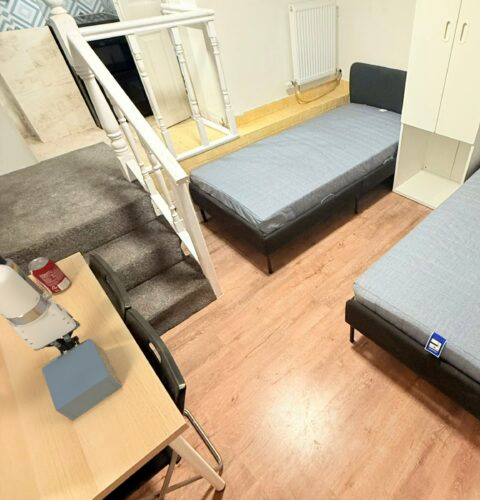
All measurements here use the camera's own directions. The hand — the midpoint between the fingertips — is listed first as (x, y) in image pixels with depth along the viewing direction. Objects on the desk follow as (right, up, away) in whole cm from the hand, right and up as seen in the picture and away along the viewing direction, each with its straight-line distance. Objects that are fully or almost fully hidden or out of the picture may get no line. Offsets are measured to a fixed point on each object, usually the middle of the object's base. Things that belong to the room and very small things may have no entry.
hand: (71, 348), depth 91 cm
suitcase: (+8, -9, -3) cm, 13 cm away
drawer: (+4, -6, -1) cm, 7 cm away
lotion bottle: (-27, +11, +20) cm, 36 cm away
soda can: (-20, +14, +22) cm, 33 cm away
